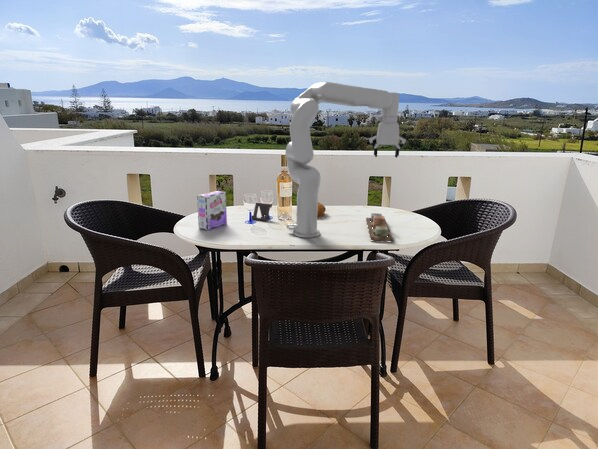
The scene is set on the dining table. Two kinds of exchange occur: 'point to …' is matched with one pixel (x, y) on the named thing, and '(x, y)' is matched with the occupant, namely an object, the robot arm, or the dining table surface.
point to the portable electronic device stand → (262, 211)
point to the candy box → (212, 210)
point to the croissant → (320, 210)
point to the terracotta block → (378, 221)
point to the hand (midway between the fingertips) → (386, 156)
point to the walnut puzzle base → (379, 230)
